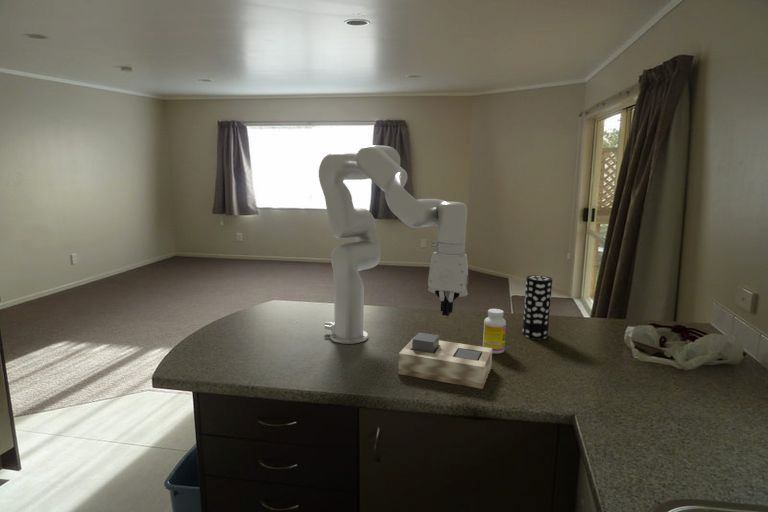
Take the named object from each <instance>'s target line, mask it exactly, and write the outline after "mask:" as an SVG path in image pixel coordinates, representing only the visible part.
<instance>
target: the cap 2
mask: <svg viewBox="0 0 768 512" xmlns="http://www.w3.org/2000/svg"><path fill="white" fill-rule="evenodd" d="M455 357H458V358H464V359H471V360H477V361H479V359H480V357H481V352H477V351H470V350H464V349H459V350H458V352H457V354H456V355H455Z"/></svg>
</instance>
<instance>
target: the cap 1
mask: <svg viewBox="0 0 768 512" xmlns="http://www.w3.org/2000/svg"><path fill="white" fill-rule="evenodd" d="M411 340H412V350H414V351H420V352H427V353H433V354H435V352H436V351H437V350H438V348H439V340H440V335H439V334H433V333H426V332H418V333H416V335H415V336H414V337H412V339H411Z"/></svg>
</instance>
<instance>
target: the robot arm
mask: <svg viewBox="0 0 768 512" xmlns="http://www.w3.org/2000/svg"><path fill="white" fill-rule="evenodd" d="M400 156H401V155H400V154H399V151H397V149H395V148H394V147H392V146H388V145H375V144H369V145H366V146H363V147H361V148H360V149H359V150H358V151H357V152H349V151H347V152H346V151H336V152H331V153H329V154H327V155H325V157H323V159H322V160H321V161H320V164H319V167H318V180H319V184H320V186H321V190H322V193H323V197H324V200H325V207H326V212H327V218H328V222H329V227H330V228H329V229H330V231H331V234H332V236H333V237H334V238H335V239H339V240H346V239H353V238H354V239H355V241H353V242H352V241H351V242H346V243H341V244H339V245H337V246H335V247H334V248H333V250H332V252H331V254H330V260H331V261H330V263H331V267H332V272H333V273H332V274H333V281H334V282H333V283H334V284H333V286H334V287H333V288H334V291H333V292H334V295H333V296H334V298H333V299H334V304H333V305H334V307H333V308H334V318H333V319H334V320H333V322H331V321H325V322H324V330H330V331H331V332H330V333H329V339H330V340H331V341H332V342H335V343H337V344H342V345H348V344H349V345H351V344H352V345H355V344H359V343H363V342H366V341H367V340H368V337H369V334H368V332H367V331H366V330H365V329H364V313H365V311H364V303H365V302H364V301H365V300H364V299H365V297H364V295H365V294H364V293H365V291H364V289H365V288H364V282H363V279H362V276H361V275H360V271H364V270H368V269H372V268H374V267H377V265H378V264H379V263H380V260H381V257H382V256H381V252H382V251H381V245H380V240H379V235H378V229H377V224H376V219H375V217H374V216H373V214H372V213H371V212H370V211H369V210H368V209H366V208H362V207H360V208H359V207H358V208H355V207H354V203H353V196H352V194H351V191H350V189H349V187H348V186H347V185H346V183H344V181H346V180H347V181H349V180H351V181H352V180H353V181H355V180H359V181H361V180H368V179H370V181H372V182H373V183H374V184H375V185H376V186H377V187H378V188H380V190H381V191H383V193H384V197H385V198H384V199H385V201H386V205H387V206H388V208H389V210H390V211H391V212H392V213H393V214H394V215H395V216H396V217H397V219H398V220H399V221H401V223H403V224H404V225H406V226H408V227H409V228H413V229H421V228H426V227H428V228H429V227H437V230H436V241H435V242H431V243H430V248H434V250H435V251H434V252H432V255H431V259H430V264H429V271H428V279H427V285H428V288H427V291H428V292H430V293H433V294H435V295H436V296H437V298H439V300H440V312H442V313H441V316H445V317H449V315H451V313H453V309H454V308H453V307H454V301H455V300H456V299H457V298H459V297H460V298H461V297H466V296H468V284H469V264H468V262H469V261H468V255H467V254H466V253H465V249H466V234H467V221H468V220H467V218H468V206H467V204H466V203H464V202H461V201H460V202H459V201H446V200H443V199H439V198H421V199H416V198H415V197H414V196H412V194H410V193H409V192H408V191H407V190H406V188H404V187H406V186H405V185H406V183H407V182H408V173H407V171H406V170H405V169H404V168H403V167H401V157H400ZM447 293H449V294H448V297H447Z"/></svg>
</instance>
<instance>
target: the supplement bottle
mask: <svg viewBox="0 0 768 512" xmlns="http://www.w3.org/2000/svg"><path fill="white" fill-rule="evenodd" d="M504 314H505V312H504V310H502V309H500V308H489V309H488V310H487V316H488V317H486V318H485V319H484V320H483V321H484V322H483V333H482V334H483V337H482V347H487V348H492V355H493V354H495V355H499V354H502V353H504V352H505V348H506V346H505V345H506V331H507V330H506V329H507V321H506V320H505V318H504Z"/></svg>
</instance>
